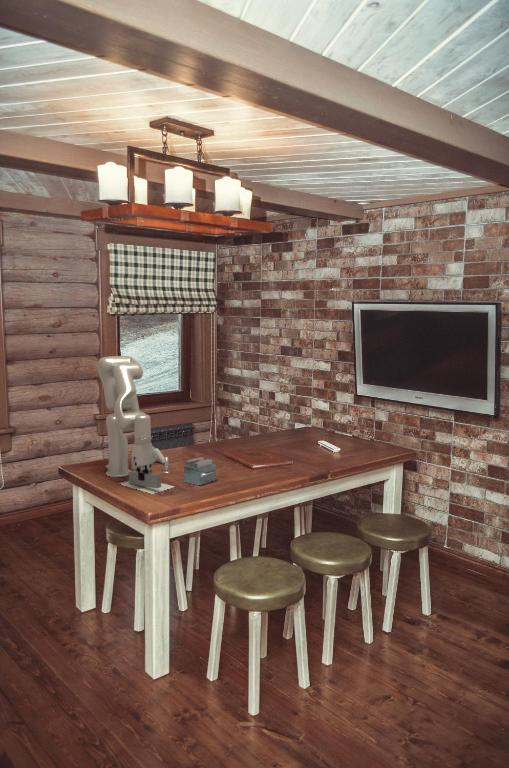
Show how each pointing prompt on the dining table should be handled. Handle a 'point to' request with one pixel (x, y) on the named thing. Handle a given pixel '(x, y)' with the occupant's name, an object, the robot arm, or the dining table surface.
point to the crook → (145, 479)
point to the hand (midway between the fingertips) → (143, 479)
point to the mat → (148, 489)
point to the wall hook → (158, 455)
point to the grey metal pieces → (197, 471)
